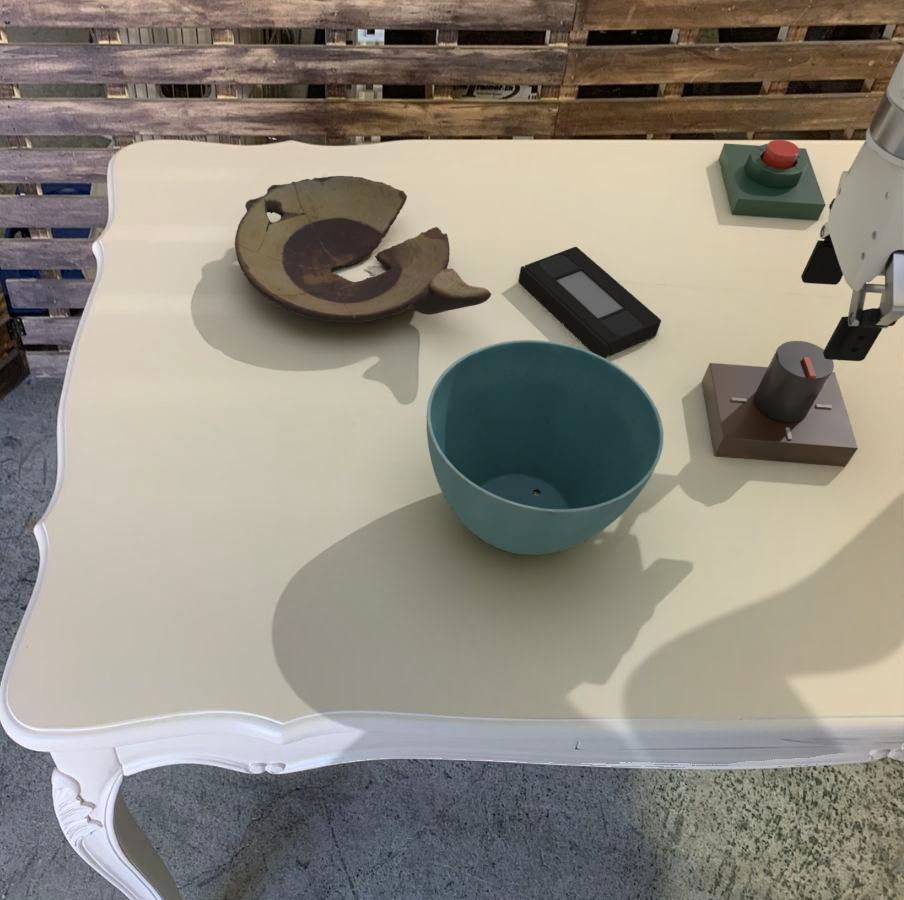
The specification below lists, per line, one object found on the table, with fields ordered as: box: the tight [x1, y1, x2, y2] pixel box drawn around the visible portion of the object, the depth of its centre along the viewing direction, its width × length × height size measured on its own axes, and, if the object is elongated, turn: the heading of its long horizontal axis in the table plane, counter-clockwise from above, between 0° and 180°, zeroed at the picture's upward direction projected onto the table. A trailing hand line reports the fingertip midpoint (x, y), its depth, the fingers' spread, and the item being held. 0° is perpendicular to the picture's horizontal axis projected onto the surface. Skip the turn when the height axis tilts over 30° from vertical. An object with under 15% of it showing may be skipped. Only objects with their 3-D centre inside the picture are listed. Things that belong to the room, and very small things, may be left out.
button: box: [762, 139, 800, 169], centre depth 106 cm, size 4×4×2 cm
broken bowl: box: [234, 175, 492, 323], centre depth 94 cm, size 22×30×8 cm
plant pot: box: [426, 339, 664, 556], centre depth 74 cm, size 18×18×12 cm
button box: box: [718, 142, 826, 222], centre depth 108 cm, size 10×12×4 cm
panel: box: [701, 362, 859, 467], centre depth 85 cm, size 12×10×3 cm
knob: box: [754, 340, 835, 422], centre depth 82 cm, size 5×5×6 cm
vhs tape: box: [517, 246, 662, 359], centre depth 95 cm, size 8×14×2 cm, turn 30°
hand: (830, 318), depth 76 cm, fingers open, 9 cm apart
